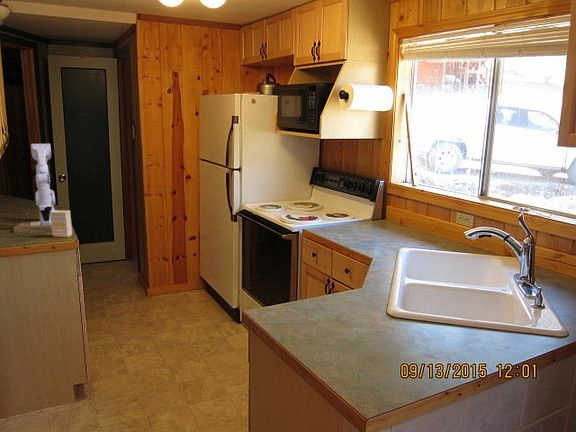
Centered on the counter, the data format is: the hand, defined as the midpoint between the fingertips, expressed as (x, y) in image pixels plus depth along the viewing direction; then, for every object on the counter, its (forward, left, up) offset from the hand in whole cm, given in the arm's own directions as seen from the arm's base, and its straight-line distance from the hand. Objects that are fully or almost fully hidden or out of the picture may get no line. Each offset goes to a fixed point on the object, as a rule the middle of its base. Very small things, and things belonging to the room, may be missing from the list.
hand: (46, 220), depth 262 cm
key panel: (0, -6, -4) cm, 7 cm away
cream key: (0, -6, -3) cm, 6 cm away
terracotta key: (0, -11, -4) cm, 12 cm away
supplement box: (+17, +11, -5) cm, 21 cm away
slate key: (0, 0, -3) cm, 3 cm away
